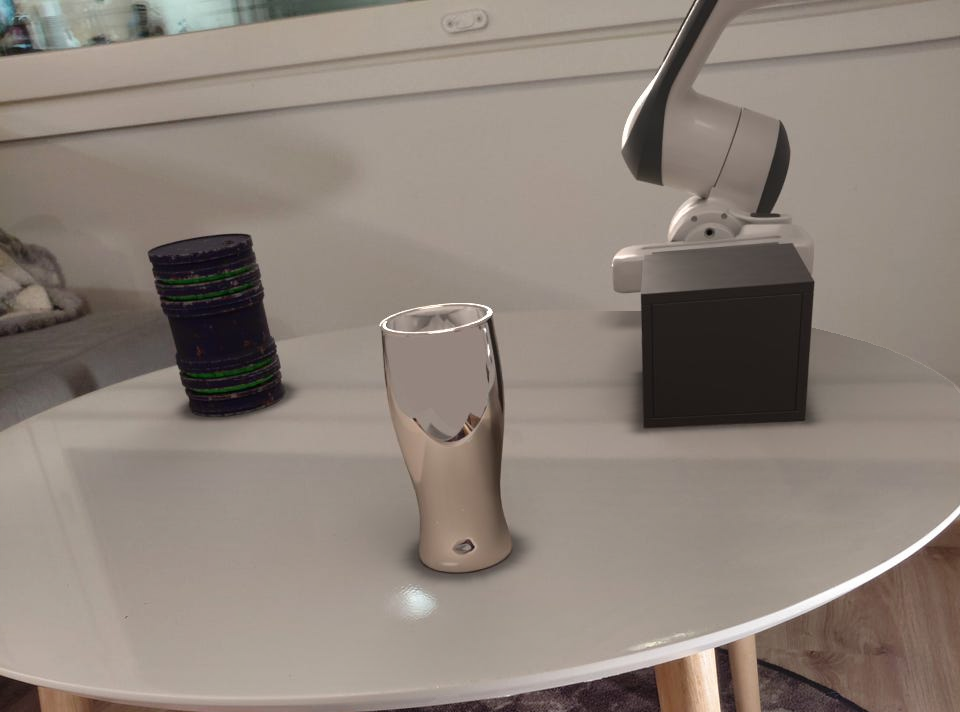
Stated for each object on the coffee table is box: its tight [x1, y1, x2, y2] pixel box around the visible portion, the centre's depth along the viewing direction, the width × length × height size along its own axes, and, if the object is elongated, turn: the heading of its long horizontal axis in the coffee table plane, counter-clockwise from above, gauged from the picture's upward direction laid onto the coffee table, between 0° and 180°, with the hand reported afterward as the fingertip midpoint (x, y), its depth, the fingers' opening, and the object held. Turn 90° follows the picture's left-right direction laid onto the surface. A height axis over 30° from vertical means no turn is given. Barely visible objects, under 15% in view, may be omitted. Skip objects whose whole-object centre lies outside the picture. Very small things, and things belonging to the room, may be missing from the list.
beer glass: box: [379, 302, 513, 574], centre depth 60 cm, size 7×7×15 cm
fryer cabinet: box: [640, 243, 816, 429], centre depth 81 cm, size 15×13×11 cm
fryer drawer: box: [652, 242, 779, 254], centre depth 88 cm, size 18×11×9 cm, turn 171°
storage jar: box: [147, 232, 286, 418], centre depth 95 cm, size 10×10×15 cm
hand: (713, 279), depth 95 cm, fingers closed, pressing on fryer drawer
